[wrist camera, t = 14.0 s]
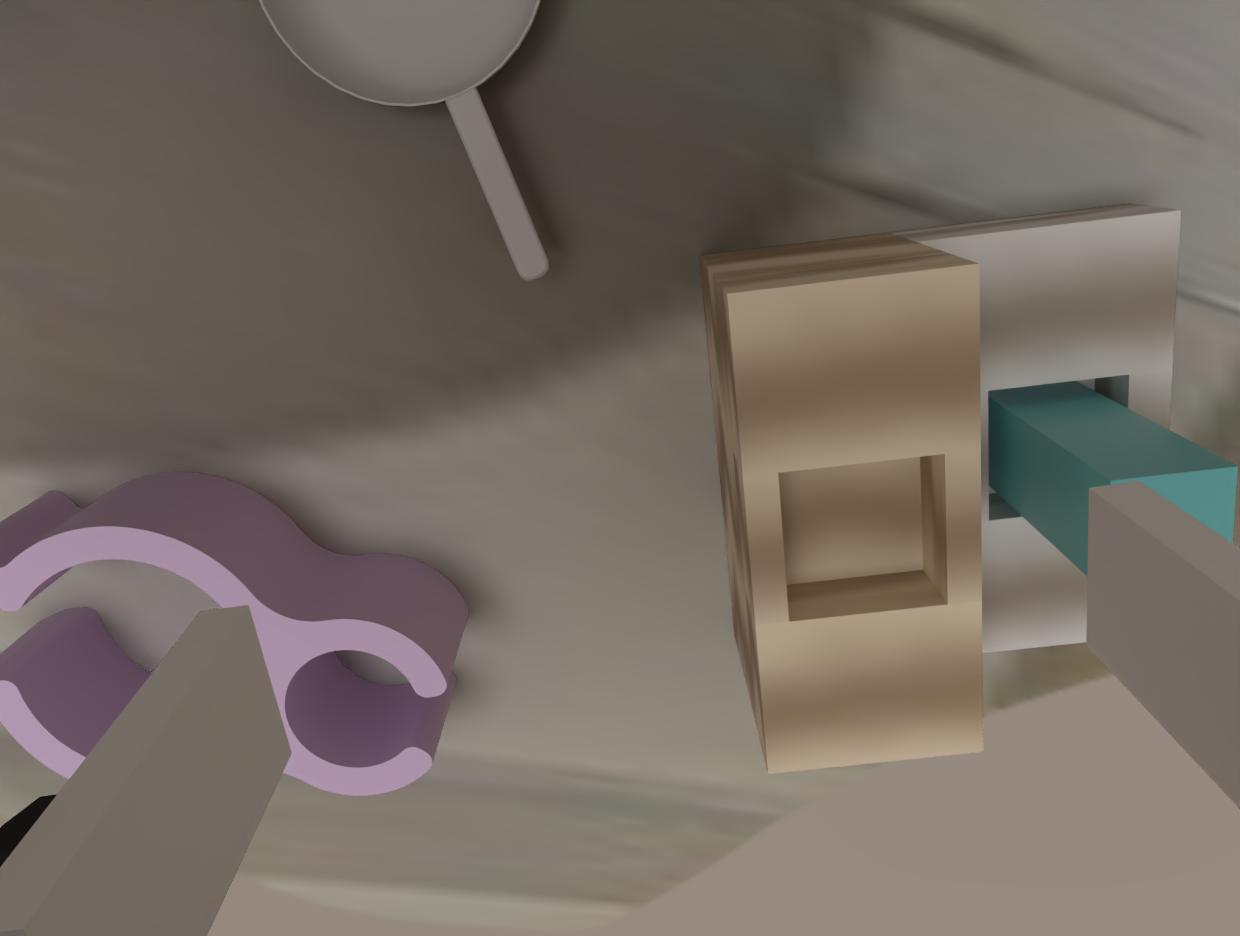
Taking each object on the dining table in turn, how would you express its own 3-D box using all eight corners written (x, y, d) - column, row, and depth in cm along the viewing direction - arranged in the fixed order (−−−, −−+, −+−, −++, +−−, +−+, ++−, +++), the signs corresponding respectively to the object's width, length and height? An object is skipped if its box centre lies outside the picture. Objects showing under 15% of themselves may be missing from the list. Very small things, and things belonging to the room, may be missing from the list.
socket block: (699, 255, 43) (727, 293, 32) (1129, 203, 42) (1300, 225, 32) (734, 636, 48) (768, 774, 38) (1115, 594, 48) (1255, 723, 37)
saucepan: (482, -249, 37) (468, -291, 33) (661, 217, 42) (666, 225, 39) (224, -124, 38) (183, -152, 35) (429, 314, 44) (412, 330, 40)
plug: (980, 390, 43) (1110, 480, 32) (1073, 380, 43) (1237, 466, 32) (981, 492, 45) (1106, 613, 34) (1071, 482, 45) (1227, 600, 33)
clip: (485, 528, 47) (464, 592, 40) (442, 755, 50) (416, 848, 44) (44, 440, 45) (-53, 492, 39) (34, 681, 49) (-56, 765, 42)
